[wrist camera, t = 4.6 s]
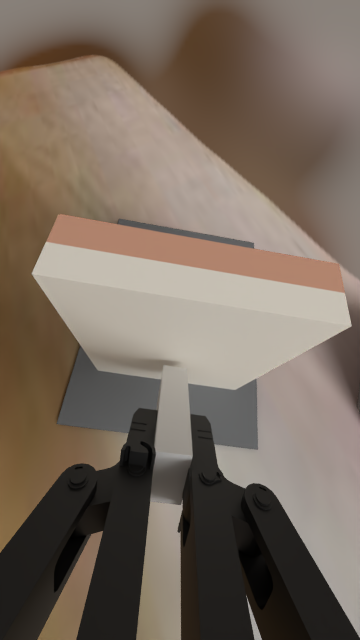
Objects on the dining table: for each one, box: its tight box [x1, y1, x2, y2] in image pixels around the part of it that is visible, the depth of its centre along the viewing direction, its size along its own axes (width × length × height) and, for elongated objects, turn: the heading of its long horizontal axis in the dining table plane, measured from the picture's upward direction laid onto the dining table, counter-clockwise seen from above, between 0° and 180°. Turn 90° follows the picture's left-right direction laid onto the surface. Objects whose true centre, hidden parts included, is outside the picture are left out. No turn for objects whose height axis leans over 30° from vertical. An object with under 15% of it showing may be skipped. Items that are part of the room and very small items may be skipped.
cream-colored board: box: [32, 214, 352, 390], centre depth 16 cm, size 3×12×14 cm, turn 84°
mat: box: [57, 219, 258, 450], centre depth 25 cm, size 22×16×1 cm
